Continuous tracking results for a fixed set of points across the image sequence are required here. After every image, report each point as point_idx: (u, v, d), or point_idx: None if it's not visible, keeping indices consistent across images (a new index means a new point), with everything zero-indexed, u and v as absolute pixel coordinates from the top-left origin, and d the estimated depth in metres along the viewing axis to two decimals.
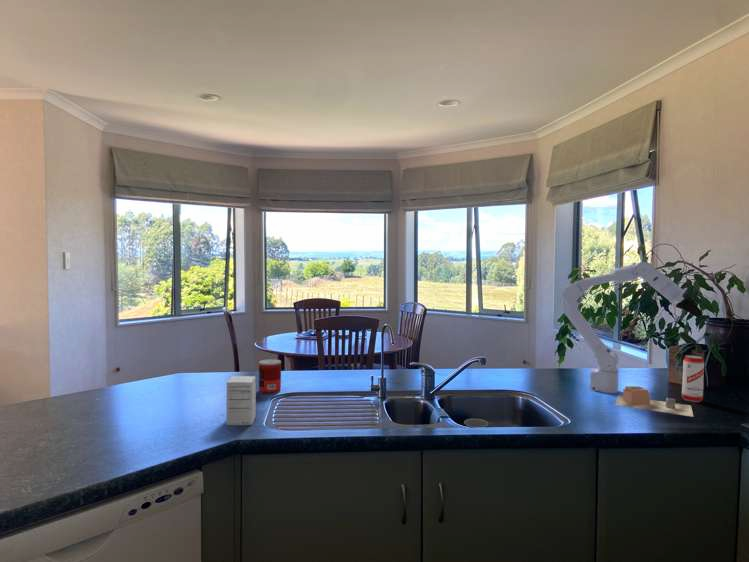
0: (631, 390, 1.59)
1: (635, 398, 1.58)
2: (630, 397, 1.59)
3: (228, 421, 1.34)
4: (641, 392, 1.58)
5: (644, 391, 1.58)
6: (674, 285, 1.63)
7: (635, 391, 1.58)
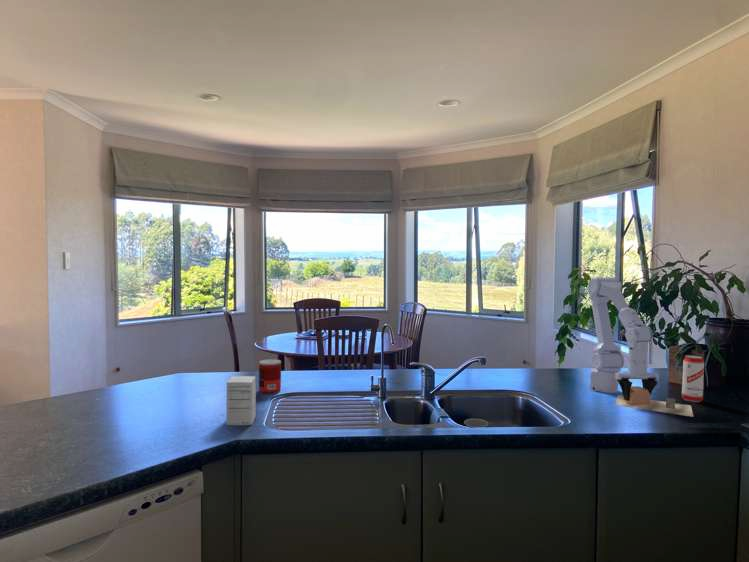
0: (631, 390, 1.59)
1: (635, 398, 1.58)
2: (630, 397, 1.59)
3: (228, 421, 1.34)
4: (641, 392, 1.58)
5: (644, 391, 1.58)
6: (636, 366, 1.58)
7: (635, 391, 1.58)
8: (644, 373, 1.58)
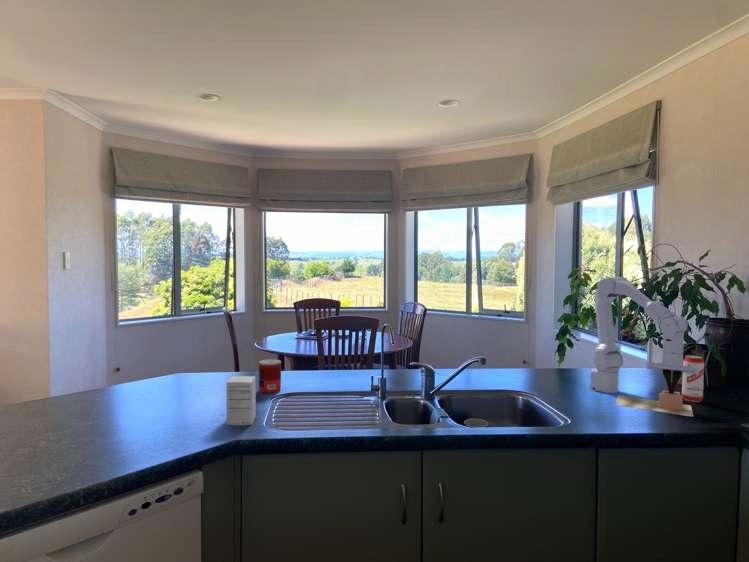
0: (662, 393, 1.56)
1: (664, 402, 1.54)
2: (659, 400, 1.55)
3: (228, 421, 1.34)
4: (671, 396, 1.53)
5: (675, 396, 1.52)
6: (666, 357, 1.54)
7: (663, 395, 1.54)
8: (675, 365, 1.52)
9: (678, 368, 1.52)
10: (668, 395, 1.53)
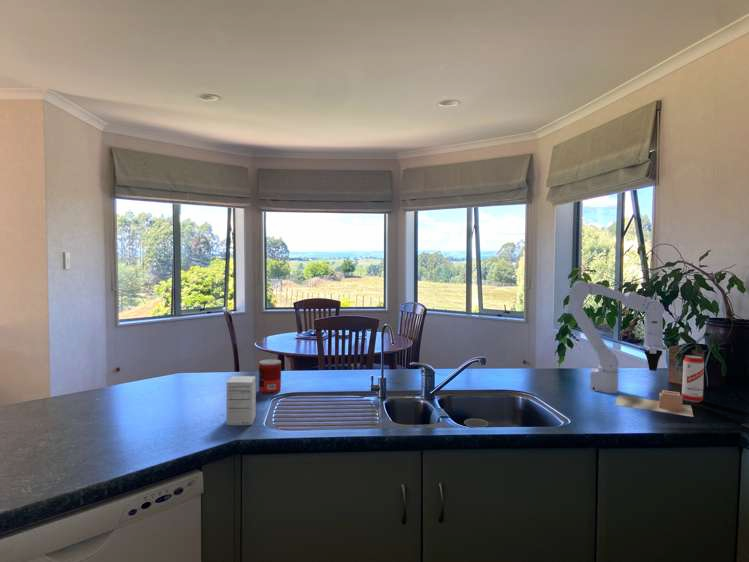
0: (662, 393, 1.56)
1: (664, 402, 1.54)
2: (659, 400, 1.55)
3: (228, 421, 1.34)
4: (671, 396, 1.53)
5: (675, 396, 1.52)
6: (660, 338, 1.67)
7: (663, 394, 1.54)
8: None
9: None
10: (668, 395, 1.53)
